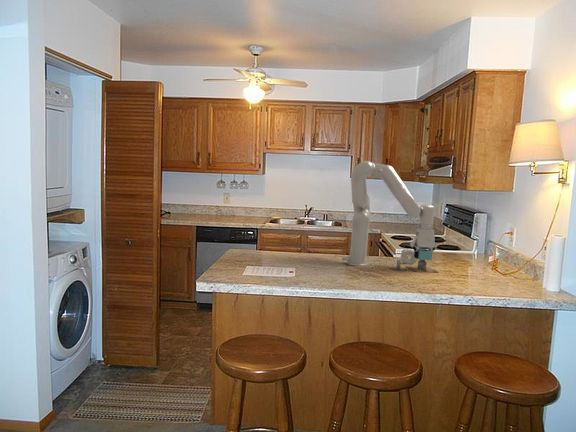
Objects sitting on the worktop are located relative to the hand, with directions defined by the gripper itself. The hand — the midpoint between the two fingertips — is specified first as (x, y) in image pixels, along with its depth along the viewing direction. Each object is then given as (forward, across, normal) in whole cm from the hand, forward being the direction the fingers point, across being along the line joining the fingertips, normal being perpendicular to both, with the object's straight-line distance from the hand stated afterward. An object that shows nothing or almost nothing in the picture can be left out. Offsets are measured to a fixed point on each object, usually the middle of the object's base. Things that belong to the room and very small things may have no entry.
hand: (422, 258), depth 246 cm
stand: (+8, -14, 0) cm, 16 cm away
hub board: (+8, 0, 0) cm, 8 cm away
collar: (0, 0, 0) cm, 0 cm away
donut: (+8, 0, +17) cm, 19 cm away
